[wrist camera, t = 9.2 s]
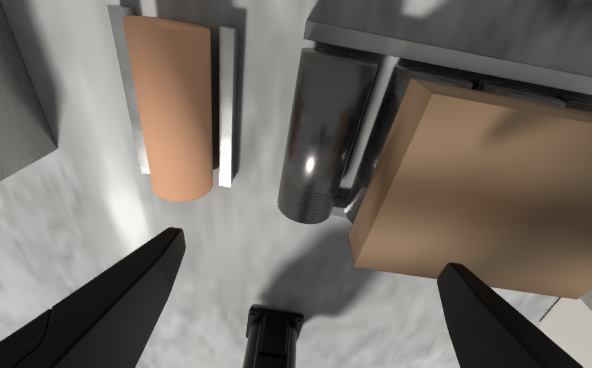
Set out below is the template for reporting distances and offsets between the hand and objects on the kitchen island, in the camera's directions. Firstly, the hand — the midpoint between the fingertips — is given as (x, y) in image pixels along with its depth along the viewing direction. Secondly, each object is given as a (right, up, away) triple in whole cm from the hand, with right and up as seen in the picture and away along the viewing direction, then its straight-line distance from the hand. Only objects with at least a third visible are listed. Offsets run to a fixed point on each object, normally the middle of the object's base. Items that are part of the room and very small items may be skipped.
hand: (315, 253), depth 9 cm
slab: (+11, +2, +6) cm, 12 cm away
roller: (-8, +8, +9) cm, 14 cm away
